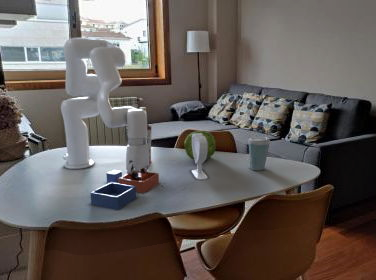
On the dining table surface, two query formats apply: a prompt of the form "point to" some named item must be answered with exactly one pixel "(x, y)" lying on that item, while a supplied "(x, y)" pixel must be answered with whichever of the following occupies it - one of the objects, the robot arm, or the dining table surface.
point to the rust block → (142, 177)
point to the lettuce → (209, 140)
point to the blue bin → (113, 195)
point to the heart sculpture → (199, 154)
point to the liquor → (148, 137)
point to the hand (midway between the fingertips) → (139, 184)
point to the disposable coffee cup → (258, 152)
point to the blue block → (113, 176)
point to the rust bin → (141, 182)
